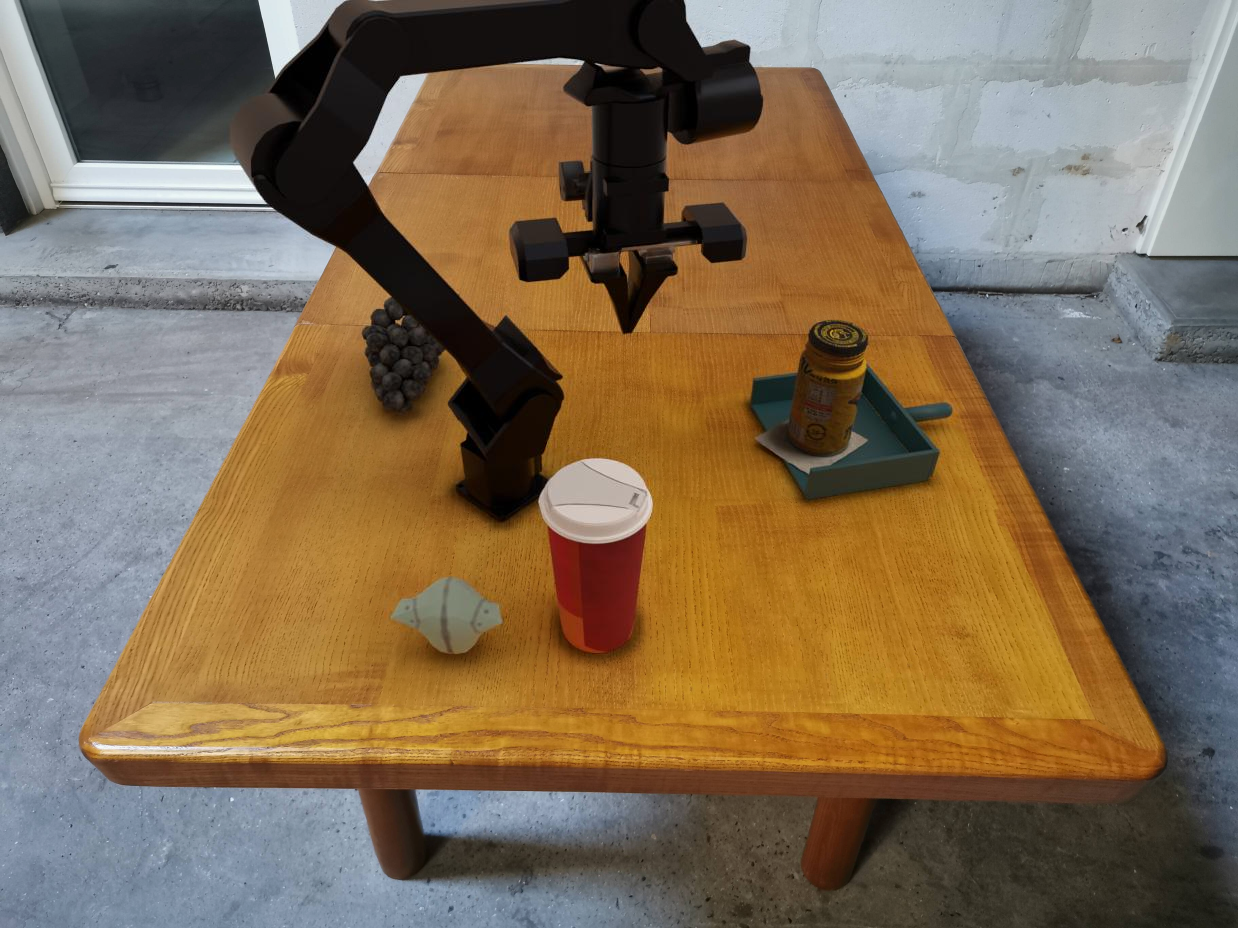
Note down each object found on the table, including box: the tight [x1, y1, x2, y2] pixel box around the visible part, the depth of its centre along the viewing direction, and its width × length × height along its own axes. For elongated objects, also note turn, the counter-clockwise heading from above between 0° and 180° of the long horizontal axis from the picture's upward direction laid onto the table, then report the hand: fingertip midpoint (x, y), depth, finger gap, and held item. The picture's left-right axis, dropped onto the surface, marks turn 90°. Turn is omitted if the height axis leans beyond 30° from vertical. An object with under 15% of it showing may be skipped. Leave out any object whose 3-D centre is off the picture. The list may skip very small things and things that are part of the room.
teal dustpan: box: [749, 362, 954, 501], centre depth 86 cm, size 18×15×3 cm
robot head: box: [390, 576, 503, 655], centre depth 64 cm, size 8×4×7 cm, turn 87°
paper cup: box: [538, 457, 654, 654], centre depth 64 cm, size 8×8×14 cm
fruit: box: [361, 296, 446, 414], centre depth 90 cm, size 9×8×15 cm
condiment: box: [754, 319, 869, 474], centre depth 82 cm, size 7×8×12 cm
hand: (626, 331), depth 77 cm, fingers closed
